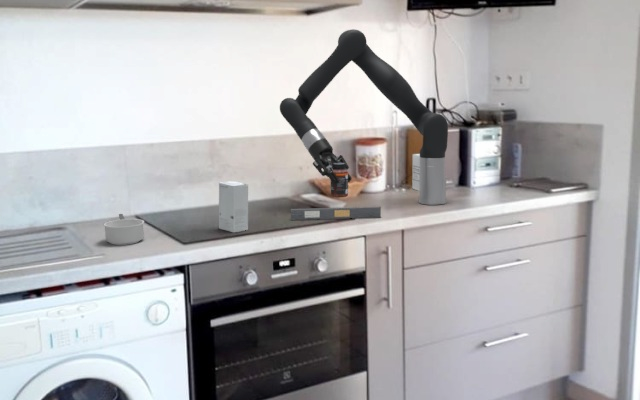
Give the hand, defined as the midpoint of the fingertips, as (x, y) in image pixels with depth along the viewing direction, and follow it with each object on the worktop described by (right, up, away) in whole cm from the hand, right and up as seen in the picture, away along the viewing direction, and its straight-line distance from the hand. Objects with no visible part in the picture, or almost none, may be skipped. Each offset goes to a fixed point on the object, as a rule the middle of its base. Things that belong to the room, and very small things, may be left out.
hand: (343, 181), depth 216 cm
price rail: (-3, -12, -2) cm, 13 cm away
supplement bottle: (-1, -5, +2) cm, 6 cm away
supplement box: (+37, -2, +53) cm, 64 cm away
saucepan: (-66, -18, -25) cm, 73 cm away
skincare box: (-35, -16, -16) cm, 41 cm away
